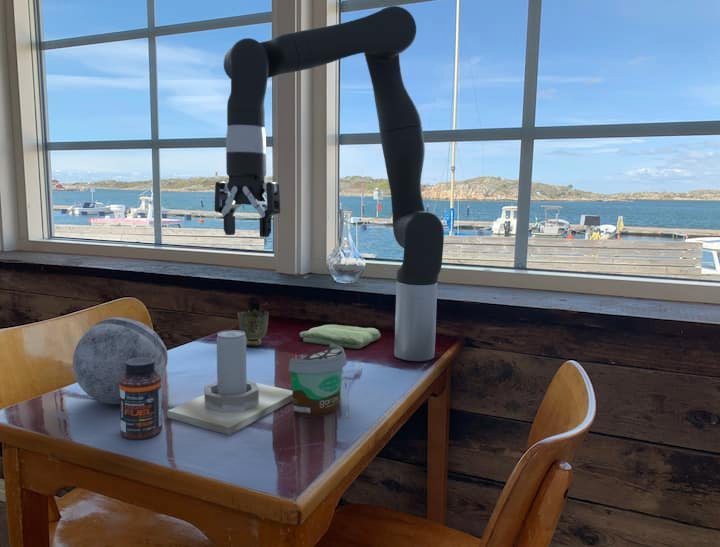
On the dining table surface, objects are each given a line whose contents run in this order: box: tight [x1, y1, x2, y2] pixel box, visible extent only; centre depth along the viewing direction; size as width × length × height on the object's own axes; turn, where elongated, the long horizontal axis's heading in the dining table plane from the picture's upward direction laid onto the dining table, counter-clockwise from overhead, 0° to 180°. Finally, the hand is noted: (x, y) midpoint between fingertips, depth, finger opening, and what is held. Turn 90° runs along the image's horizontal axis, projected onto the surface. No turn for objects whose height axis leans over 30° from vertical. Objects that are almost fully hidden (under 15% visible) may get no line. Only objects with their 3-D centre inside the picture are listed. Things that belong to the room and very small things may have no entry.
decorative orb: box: [72, 316, 169, 405], centre depth 96 cm, size 15×14×15 cm
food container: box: [288, 343, 348, 418], centre depth 94 cm, size 12×6×10 cm, turn 148°
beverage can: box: [216, 329, 247, 396], centre depth 93 cm, size 5×5×12 cm
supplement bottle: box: [119, 357, 163, 440], centre depth 84 cm, size 6×6×11 cm
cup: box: [236, 309, 270, 347], centre depth 134 cm, size 8×7×8 cm
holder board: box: [167, 380, 293, 436], centre depth 95 cm, size 18×13×4 cm
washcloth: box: [299, 324, 381, 350], centre depth 141 cm, size 13×18×3 cm
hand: (246, 235), depth 109 cm, fingers open, 8 cm apart
